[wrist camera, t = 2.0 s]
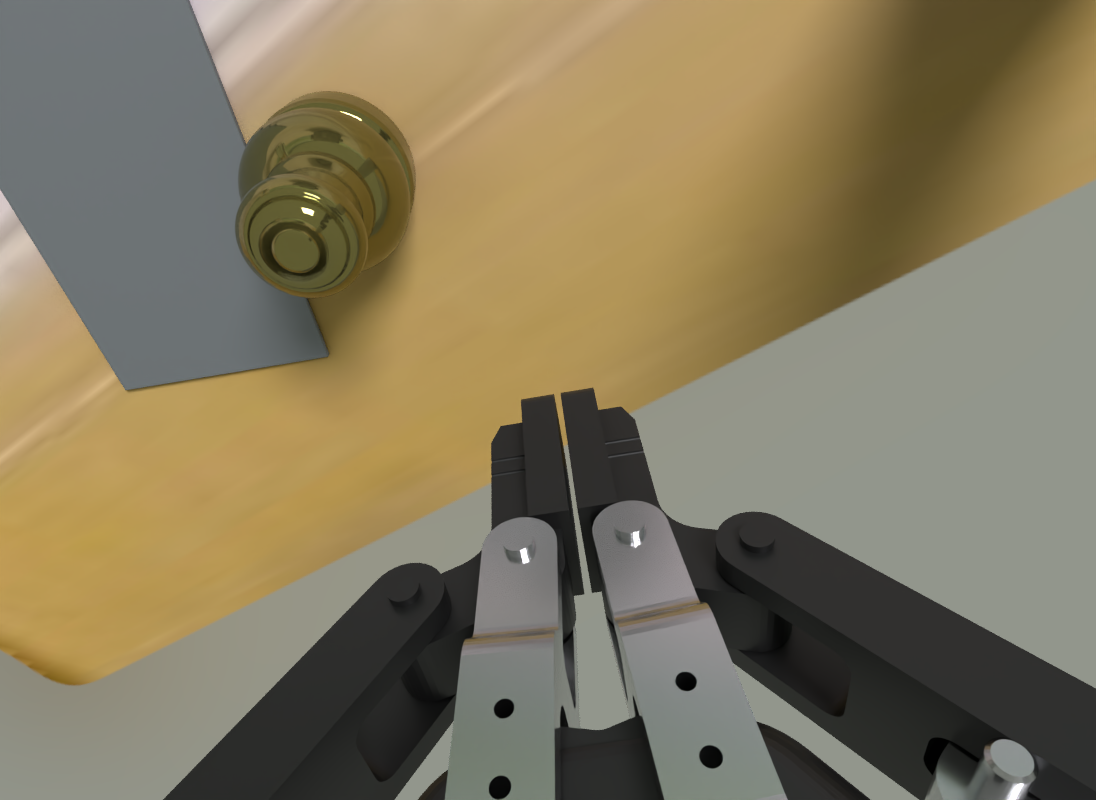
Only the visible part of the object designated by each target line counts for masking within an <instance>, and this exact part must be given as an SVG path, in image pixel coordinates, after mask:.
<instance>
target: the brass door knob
mask: <svg viewBox="0 0 1096 800" xmlns="http://www.w3.org/2000/svg"><path fill="white" fill-rule="evenodd" d="M415 181H416V176H415V166H414V160H413V157H412V153H411V151H410V148H409V146H408V144H407V141H406V140H405V138H404V136H403V134H402V133H401V131H400V130H399V128H398V127H397V126H396V125H395V124H394V122H393V121H392V120H391V119H390V118H389V117H388V116H387V115H386V114H385V113H383V112H382V111H381V110H380V109H378V108H377V107H375V106H374V105H372V104H371V103H369V102H367V101H365V100H363V99H361V98H359V97H356V96H353V95H350V94H346V93H341V92H332V91H323V92H314V93H310V94H307V95H304V96H301V97H299V98H297V99H295V100H293V101H291V102H290V103H288V104H287V105H286V106H284V107H283V108H282V109H280V110H279V111H277V112H276V113H275V114H274V115H273V116H271V117H270V118H269V119H268V121H267V122H266V123H265V124H264V125H262V126H261V127H260V128H259V129H258V130H257V131H256V132H255V133H254V135H253V136H252V137H251V139H250V140H249V142H248V143H247V145H246V147H245V149H244V151H243V154H242V156H241V160H240V164H239V170H238V190H239V196H240V201H241V203H240V206H239V208H238V211H237V215H236V220H235V235H236V241H237V244H238V247H239V250H240V252H241V254H242V256H243V258H244V260H245V261H246V263H247V264H248V266H249V267H250V268H251V270H252V271H253V272H254V273H255V274H256V275H257V276H258V277H259V278H260V279H262V280H263V281H264V282H265V283H267V284H268V285H270V286H271V287H273V288H275V289H277V290H279V291H281V292H283V293H286V294H289V295H292V296H297V297H302V298H321V297H326V296H330V295H333V294H336V293H338V292H340V291H342V290H343V289H345V288H346V287H348V286H349V285H350V284H351V283H352V282H353V281H354V280H355V279H356V278H357V276H358V275H359V274H360V272H362V271H365V270H368V269H370V268H372V267H374V266H376V265H377V264H379V263H380V262H382V261H383V260H384V259H385V258H387V257H388V256H389V255H390V254H391V253H392V252H393V251H394V249H395V248H396V247H397V246H398V244H399V242H400V241H401V239H402V237H403V235H404V233H405V230H406V227H407V224H408V220H409V215H410V212H411V209H412V205H413V199H414V190H415Z"/></svg>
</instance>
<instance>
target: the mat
mask: <svg viewBox="0 0 1096 800" xmlns="http://www.w3.org/2000/svg"><path fill="white" fill-rule="evenodd" d="M245 147H246V143H245V140H244V138H243V135H242V133H241V130H240V128H239V125H238V122H237V120H236V117H235V115H234V112H233V110H232V107H231V105H230V102H229V100H228V97H227V95H226V92H225V90H224V87H223V85H222V82H221V80H220V77H219V75H218V72H217V69H216V67H215V64H214V62H213V59H212V57H211V54H210V52H209V49H208V47H207V44H206V42H205V39H204V37H203V34H202V32H201V29H200V27H199V24H198V22H197V19H196V16H195V14H194V11H193V9H192V6H191V4H190V1H189V0H0V189H1V191H2V193H3V194H4V196H5V197H6V199H7V201H8V202H9V204H10V205H11V207H12V209H13V210H14V212H15V214H16V215H17V217H18V218H19V220H20V222H21V223H22V225H23V226H24V228H25V230H26V231H27V233H28V234H29V236H30V238H31V239H32V241H33V242H34V244H35V246H36V247H37V249H38V250H39V252H40V254H41V255H42V257H43V258H44V260H45V262H46V263H47V265H48V266H49V268H50V270H51V271H52V273H53V275H54V276H55V278H56V279H57V281H58V283H59V284H60V286H61V287H62V289H63V291H64V292H65V294H66V295H67V297H68V299H69V300H70V302H71V303H72V305H73V307H74V308H75V310H76V311H77V313H78V315H79V316H80V318H81V319H82V321H83V323H84V324H85V326H86V327H87V329H88V331H89V332H90V334H91V336H92V337H93V339H94V340H95V342H96V344H97V345H98V347H99V348H100V350H101V352H102V353H103V355H104V356H105V358H106V360H107V361H108V363H109V364H110V366H111V368H112V369H113V371H114V372H115V374H116V376H117V377H118V379H119V380H120V382H121V384H122V385H123V387H124V388H125V390H130V389H136V388H142V387H148V386H154V385H160V384H166V383H172V382H178V381H184V380H190V379H196V378H202V377H208V376H214V375H220V374H226V373H232V372H238V371H244V370H250V369H256V368H262V367H268V366H274V365H280V364H286V363H292V362H298V361H304V360H311V359H317V358H323V357H328V356H329V352H328V350H327V347H326V345H325V342H324V340H323V337H322V334H321V332H320V329H319V327H318V324H317V322H316V319H315V317H314V314H313V312H312V309H311V307H310V304H309V302H308V299H307V298H302V297H297V296H292V295H289V294H286V293H283V292H281V291H279V290H277V289H275V288H273V287H271V286H270V285H268V284H267V283H265V282H264V281H263V280H262V279H260V278H259V277H258V276H257V275H256V274H255V273H254V272H253V271H252V270H251V268H250V267H249V266H248V264H247V263H246V261H245V260H244V258H243V256H242V254H241V252H240V250H239V247H238V244H237V241H236V235H235V220H236V215H237V211H238V208H239V206H240V203H241V201H240V196H239V190H238V170H239V164H240V160H241V156H242V154H243V151H244V149H245Z"/></svg>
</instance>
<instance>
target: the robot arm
mask: <svg viewBox="0 0 1096 800" xmlns="http://www.w3.org/2000/svg"><path fill="white" fill-rule="evenodd" d="M561 399H562V406H563V413H564V420H565V427H566V434H567V440H568V447H569V453H570V460H571V468H572V474H573V482H574V488H575V495H576V502H577V508H578V515H579V520H580V525H581V532H582V538H583V543H584V549H585V555H586V561H587V565H588V572H589V578H590V583H591V588H592V593H594V592H601V591H602V596H603V601H604V607H605V613H606V619H607V626H608V631H609V635H610V639H611V643H612V647H613V651H614V655H615V659H616V663H617V667H618V672H619V675H620V680H621V683H622V687H623V692H624V696H625V700H626V704H627V708H628V712H629V717H630V719H628V720H626V721H624V722H621V723H619V724H617V725H615V726H612V727H610V728H607V729H604V730H589V729H580V717H579V693H578V668H577V644H576V629H575V621H576V612H575V603H574V596H575V595H582V594H584V589H583V582H582V574H581V567H580V559H579V552H578V545H577V537H576V530H575V523H574V516H573V508H572V501H571V494H570V488H569V487H570V486H569V479H568V473H567V466H566V459H565V453H564V448H563V442H562V436H561V431H560V425H559V419H558V414H557V408H556V403H555V397H554V394H552V395H546V396H540V397H534V398H528V399H522V400H521V408H522V423H517V424H511V425H505V426H501V427H500V429H499V430H498V432H497V434H496V436H495V437H494V439H493V441H492V443H491V461H492V464H491V474H492V478H491V480H492V529H491V532H490V533H489V534H488V536H487V537H486V539H485V541H484V543H483V547H482V550H481V551H480V553H479V554H477V555H476V556H475V557H474V558H472V559H471V560H469V561H468V562H466V563H464V564H463V565H460V566H458V567H455V568H453V569H451V570H449V571H446V572H444V573H442V574H440V573H439V571H438V570H437V569H435V568H434V567H432V566H430V565H427V564H422V563H410V564H405V565H401V566H398V567H396V568H394V569H392V570H390V571H388V572H387V573H385V574H384V575H382V576H381V577H380V578H379V579H378V580H377V581H376V582H375V583H374V584H373V585H372V586H371V587H370V588H369V589H368V590H367V591H366V592H365V593H364V594H363V595H362V596H361V597H360V598H359V600H358V601H357V602H356V603H355V604H354V605H353V606H352V607H351V608H350V609H349V610H348V611H347V612H346V613H345V614H344V615H343V616H342V617H341V618H340V619H339V620H338V621H337V622H336V623H335V624H334V625H333V626H332V627H331V628H330V629H329V630H328V631H327V632H326V633H325V634H324V636H323V637H321V639H319V640H318V642H317V643H316V644H315V645H314V646H313V647H312V648H311V649H310V650H309V651H308V652H307V653H306V654H305V655H304V656H303V657H302V658H301V659H300V660H299V661H298V662H297V663H296V664H295V665H294V666H293V667H292V668H291V669H290V670H289V671H288V672H287V673H286V674H285V675H284V676H283V677H282V678H281V679H280V681H279V682H277V684H276V685H275V686H274V687H273V688H272V689H271V690H270V691H269V692H268V693H267V694H266V695H265V696H264V697H263V698H262V699H261V700H260V701H259V702H258V703H257V704H256V705H255V706H254V707H253V708H252V709H251V710H250V711H249V712H248V713H247V714H246V715H245V716H244V717H243V718H242V719H241V720H240V721H239V722H238V724H237V725H236V726H235V727H234V728H233V729H232V730H231V731H230V732H229V733H228V734H227V735H226V736H225V737H224V738H223V739H222V740H221V741H220V742H219V743H218V744H217V745H216V746H215V747H214V748H213V749H212V750H211V751H210V752H209V753H208V754H207V755H206V757H204V758H203V759H202V760H201V761H200V762H199V763H198V764H197V766H196V767H195V768H194V769H193V770H192V771H191V772H190V773H189V774H188V775H187V776H186V777H185V778H184V779H183V780H182V781H181V782H180V783H179V784H178V785H177V786H176V787H175V788H174V789H173V790H172V791H171V792H170V793H169V794H168V795H167V796H166V798H164V799H163V800H394V799H395V798H396V797H397V795H398V794H399V793H400V791H401V790H402V789H403V787H404V786H405V785H406V783H407V782H408V781H409V779H410V778H411V777H412V775H413V774H414V773H415V771H416V770H417V768H418V767H419V766H420V765H421V763H422V762H423V761H424V759H425V758H426V757H427V755H428V754H429V753H430V751H431V750H432V749H433V747H434V746H435V745H436V743H437V742H438V741H439V739H440V738H441V737H442V735H443V734H444V733H445V731H446V730H447V729H448V727H449V726H450V725H451V723H452V722H453V721H454V723H453V731H452V741H451V749H450V758H449V767H448V770H447V771H446V772H444V773H443V774H442V775H441V776H440V777H439V778H437V779H436V780H435V781H434V782H433V783H432V784H431V785H430V786H429V787H428V788H427V790H426V791H425V792H424V793H423V794H422V795H421V796H420V798H419V799H418V800H870V799H869V798H868V797H866V796H865V795H864V794H863V793H862V792H860V791H859V790H858V789H857V788H855V787H854V786H853V785H852V784H850V783H849V782H848V781H847V780H845V779H844V778H843V777H842V776H840V775H839V774H838V773H837V772H836V771H834V770H833V769H832V768H831V767H829V766H828V765H827V764H826V763H824V762H823V761H822V760H821V759H819V758H818V757H817V756H816V755H814V754H813V753H812V752H811V751H809V750H808V749H807V748H805V747H804V746H803V745H802V744H800V743H799V742H797V741H796V740H794V739H793V738H791V737H789V736H788V735H786V734H785V733H783V732H781V731H779V730H777V729H774V728H772V727H770V726H768V725H765V724H762V723H759V722H756V720H755V717H754V715H753V712H752V710H751V707H750V705H749V702H748V700H747V698H746V695H745V693H744V690H743V688H742V685H741V683H740V680H739V678H738V675H737V673H736V670H735V668H734V665H733V663H734V664H735V665H737V666H738V667H740V668H741V669H742V670H744V671H745V672H746V673H748V674H749V675H750V676H752V677H753V678H754V679H756V680H757V681H759V682H760V683H761V684H763V685H764V686H765V687H767V688H768V689H770V690H771V691H772V692H774V693H775V694H777V695H778V696H779V697H780V698H782V699H783V700H785V701H786V702H787V703H789V704H790V705H791V706H793V707H794V708H795V709H797V710H798V711H800V712H801V713H802V714H803V715H805V716H806V717H808V718H809V719H811V720H812V721H813V722H814V723H816V724H817V725H818V726H820V727H821V728H823V729H824V730H825V731H827V732H828V733H829V734H831V735H832V736H833V737H835V738H836V739H838V740H839V741H840V742H842V743H843V744H844V745H846V746H847V747H849V748H850V749H851V750H853V751H854V752H855V753H857V754H858V755H859V756H861V757H862V758H863V759H865V760H866V761H868V762H869V763H870V764H872V765H873V766H874V767H876V768H877V769H879V770H880V771H881V772H882V773H884V774H885V775H887V776H888V777H889V778H891V779H892V780H893V781H895V782H896V783H897V784H899V785H900V786H902V787H903V788H904V789H906V790H907V791H908V792H910V793H911V794H912V795H914V796H915V797H917V798H918V799H919V800H1096V688H1093V687H1092V686H1090V685H1088V684H1086V683H1084V682H1083V681H1081V680H1079V679H1077V678H1075V677H1073V676H1071V675H1070V674H1068V673H1066V672H1064V671H1062V670H1060V669H1058V668H1057V667H1055V666H1053V665H1051V664H1049V663H1047V662H1045V661H1044V660H1042V659H1040V658H1038V657H1036V656H1034V655H1033V654H1031V653H1029V652H1027V651H1025V650H1023V649H1021V648H1019V647H1018V646H1016V645H1014V644H1012V643H1010V642H1009V641H1007V640H1005V639H1003V638H1001V637H999V636H997V635H995V634H994V633H992V632H990V631H988V630H986V629H984V628H983V627H981V626H979V625H977V624H975V623H973V622H971V621H970V620H968V619H966V618H964V617H962V616H960V615H959V614H957V613H955V612H953V611H951V610H949V609H947V608H946V607H944V606H942V605H940V604H938V603H936V602H934V601H933V600H930V599H929V598H927V597H925V596H923V595H921V594H920V593H918V592H916V591H914V590H912V589H910V588H908V587H907V586H905V585H903V584H901V583H899V582H897V581H895V580H894V579H892V578H890V577H888V576H886V575H884V574H883V573H881V572H879V571H877V570H875V569H873V568H871V567H870V566H868V565H866V564H864V563H862V562H860V561H859V560H857V559H855V558H853V557H851V556H849V555H847V554H845V553H843V552H842V551H840V550H838V549H836V548H834V547H833V546H831V545H829V544H827V543H825V542H823V541H821V540H820V539H818V538H816V537H814V536H812V535H810V534H808V533H807V532H805V531H803V530H801V529H799V528H797V527H796V526H793V525H792V524H790V523H788V522H786V521H784V520H782V519H781V518H778V517H776V516H774V515H771V514H768V513H762V512H745V513H740V514H737V515H734V516H732V517H730V518H728V519H727V520H725V521H724V522H723V523H722V524H721V525H720V527H719V529H718V530H712V529H702V528H695V527H690V526H686V525H683V524H681V523H678V522H676V521H675V520H673V519H671V518H670V517H669V516H668V515H666V513H665V512H664V511H663V510H662V509H661V507H660V505H659V503H658V500H657V496H656V493H655V489H654V486H653V482H652V479H651V475H650V472H649V468H648V465H647V461H646V458H645V454H644V452H643V447H642V443H641V440H640V436H639V433H638V429H637V426H636V423H635V419H633V417H631V416H630V415H629V414H628V413H627V412H626V411H625V410H624V409H623V408H622V407H616V408H609V409H603V410H598V407H597V402H596V398H595V393H594V389H593V388H588V389H582V390H576V391H570V392H564V393H561ZM732 662H733V663H732Z"/></svg>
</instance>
